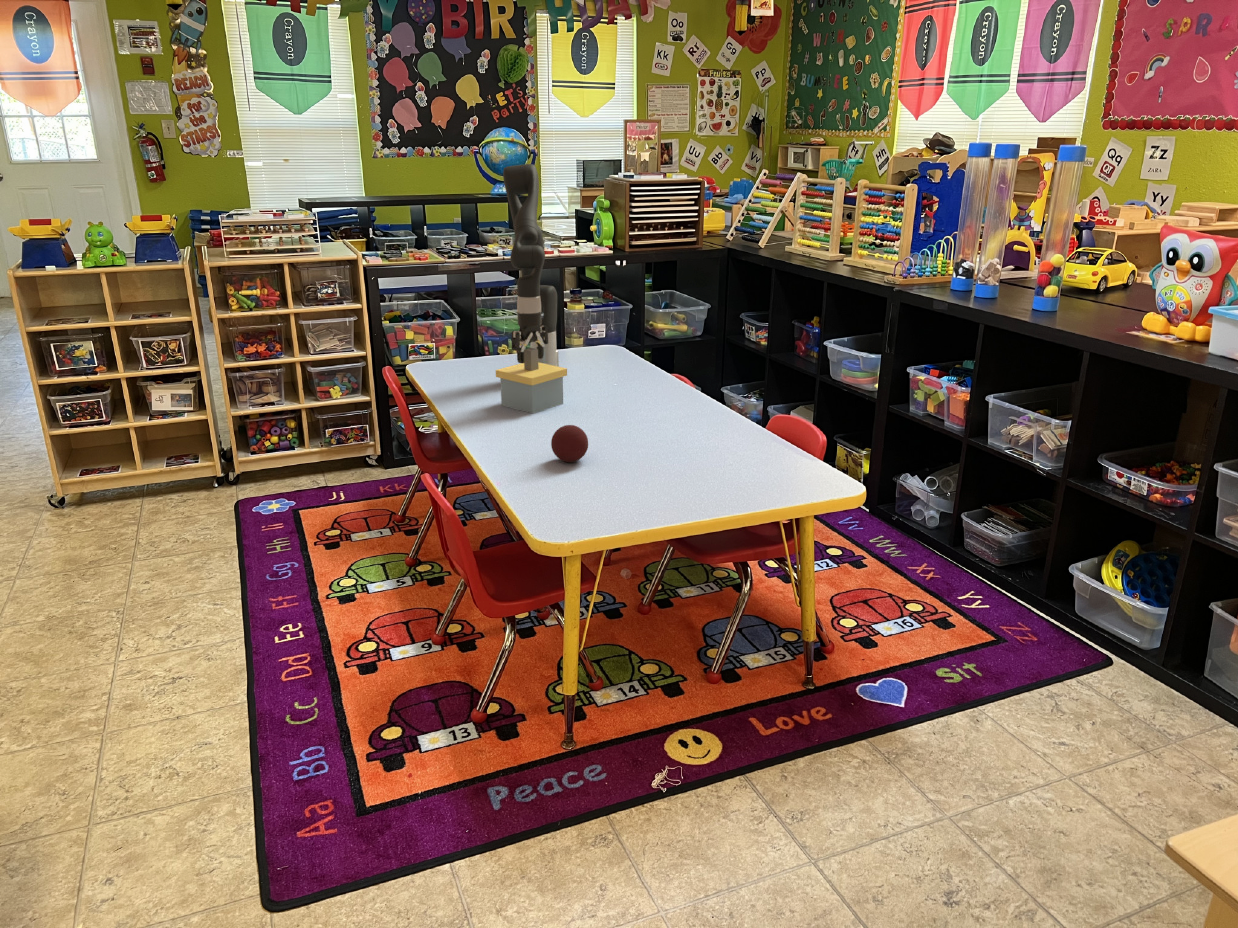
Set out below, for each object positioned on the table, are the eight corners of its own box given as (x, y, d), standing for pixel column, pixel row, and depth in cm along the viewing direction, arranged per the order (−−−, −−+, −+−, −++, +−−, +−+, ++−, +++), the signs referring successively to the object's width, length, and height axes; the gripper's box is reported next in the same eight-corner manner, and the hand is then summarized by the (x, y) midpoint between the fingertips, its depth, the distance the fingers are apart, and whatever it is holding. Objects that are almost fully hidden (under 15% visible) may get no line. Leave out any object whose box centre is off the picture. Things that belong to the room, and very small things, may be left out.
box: (532, 396, 302) (531, 364, 299) (563, 403, 294) (562, 371, 290) (501, 405, 292) (500, 372, 288) (532, 413, 284) (531, 379, 280)
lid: (531, 367, 300) (530, 341, 297) (567, 375, 291) (566, 348, 288) (495, 377, 289) (494, 350, 286) (532, 385, 279) (531, 357, 276)
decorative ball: (595, 463, 241) (595, 427, 238) (562, 469, 236) (562, 433, 233) (577, 452, 249) (576, 418, 246) (545, 458, 244) (544, 423, 241)
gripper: (536, 306, 290) (537, 355, 295) (504, 312, 279) (506, 362, 285) (553, 308, 285) (554, 358, 291) (521, 314, 275) (523, 366, 281)
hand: (530, 360), depth 288 cm, fingers open, 8 cm apart
